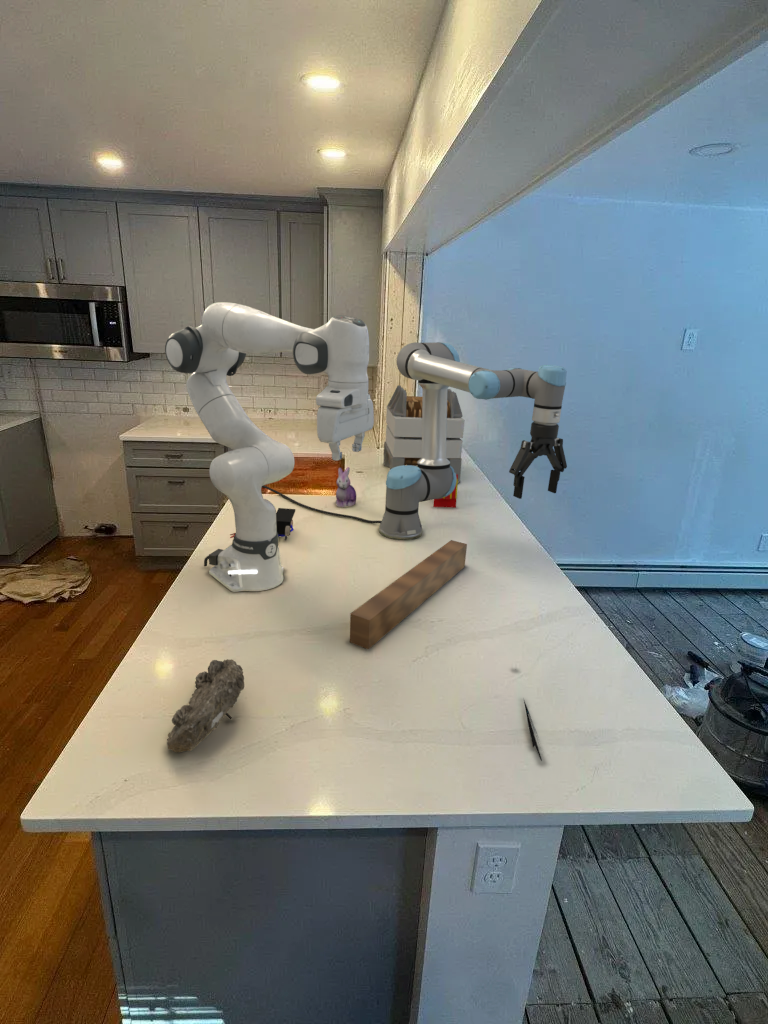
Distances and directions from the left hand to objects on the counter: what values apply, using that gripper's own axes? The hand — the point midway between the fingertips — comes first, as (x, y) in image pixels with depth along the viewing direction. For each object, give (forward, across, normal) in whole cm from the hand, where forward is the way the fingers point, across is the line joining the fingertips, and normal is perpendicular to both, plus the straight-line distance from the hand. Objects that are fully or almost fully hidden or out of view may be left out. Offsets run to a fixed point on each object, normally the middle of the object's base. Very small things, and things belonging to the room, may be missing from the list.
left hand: (347, 455), depth 129 cm
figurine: (+42, -78, -43) cm, 99 cm away
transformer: (+42, -138, -34) cm, 148 cm away
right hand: (+18, -52, +35) cm, 65 cm away
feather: (+43, +13, +49) cm, 66 cm away
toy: (+43, -108, -13) cm, 117 cm away
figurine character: (+42, -39, -45) cm, 73 cm away
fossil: (+43, +43, -5) cm, 61 cm away
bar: (+43, -19, +12) cm, 48 cm away
